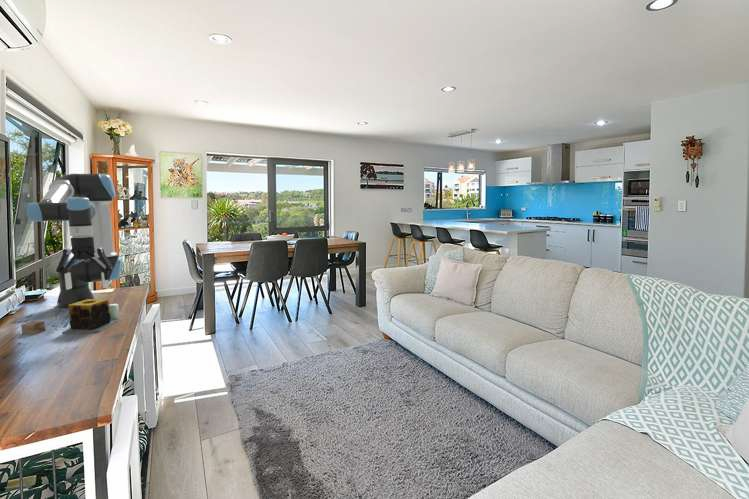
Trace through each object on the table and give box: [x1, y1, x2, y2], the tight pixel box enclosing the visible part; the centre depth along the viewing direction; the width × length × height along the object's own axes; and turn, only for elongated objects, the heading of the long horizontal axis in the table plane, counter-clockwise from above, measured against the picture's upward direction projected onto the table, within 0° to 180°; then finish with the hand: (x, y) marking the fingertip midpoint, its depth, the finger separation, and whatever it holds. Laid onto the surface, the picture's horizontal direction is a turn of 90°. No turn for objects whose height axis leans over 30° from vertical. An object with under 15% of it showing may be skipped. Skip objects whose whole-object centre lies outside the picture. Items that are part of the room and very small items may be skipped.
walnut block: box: [20, 320, 46, 336], centre depth 161 cm, size 5×5×4 cm
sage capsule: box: [109, 303, 120, 320], centre depth 178 cm, size 4×4×6 cm
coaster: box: [61, 319, 119, 334], centre depth 167 cm, size 14×14×1 cm
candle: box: [68, 298, 111, 330], centre depth 166 cm, size 10×10×10 cm
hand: (87, 288), depth 165 cm, fingers open, 13 cm apart
